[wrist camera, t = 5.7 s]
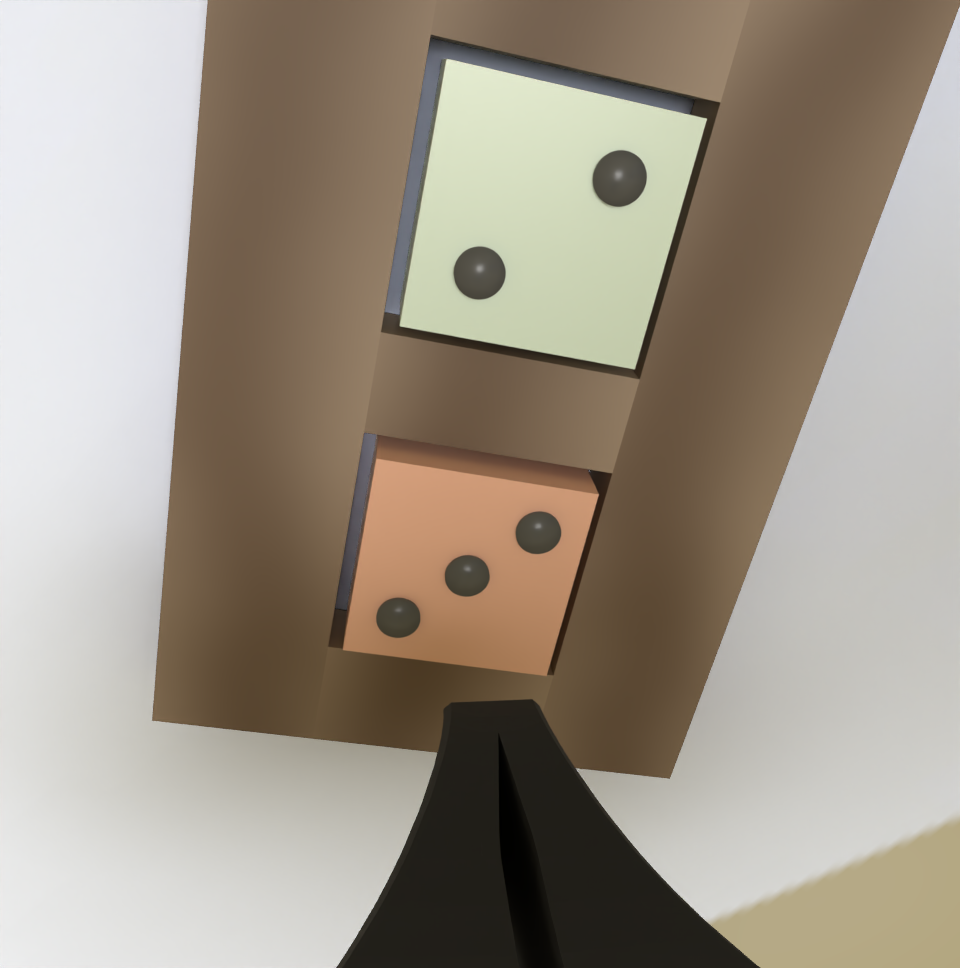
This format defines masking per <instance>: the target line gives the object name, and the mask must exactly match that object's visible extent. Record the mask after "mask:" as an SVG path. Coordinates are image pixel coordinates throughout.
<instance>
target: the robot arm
mask: <svg viewBox="0 0 960 968" xmlns="http://www.w3.org/2000/svg"><path fill="white" fill-rule="evenodd" d="M336 968H760V967H759V966H757V965H756V964H755V963H754V962H752V961H751V960H750V959H749V958H748V957H747V956H745V955H744V954H743V953H742V952H741V951H740V950H738V949H737V948H736V947H735V946H734V945H733V944H731V943H730V942H729V941H728V940H727V939H726V938H725V937H723V936H722V935H721V934H720V933H719V932H718V931H717V930H715V929H714V928H713V927H712V926H711V925H710V924H708V923H707V922H706V921H705V920H704V919H703V918H702V917H701V916H700V915H699V914H698V913H697V912H696V911H694V910H693V909H692V908H691V907H690V906H689V905H688V904H687V903H686V902H685V901H684V900H683V899H682V898H681V897H680V896H679V895H678V894H677V893H676V892H675V891H674V890H673V889H672V888H671V887H670V886H669V885H668V884H667V882H666V881H665V880H664V879H663V878H662V877H661V876H660V875H659V874H658V873H657V872H656V871H655V870H654V869H653V868H652V867H651V865H650V864H649V863H648V862H647V861H646V860H645V859H644V858H643V856H642V855H641V854H640V853H639V852H638V851H637V849H636V848H635V847H634V846H633V845H632V844H631V842H630V841H629V840H628V839H627V837H626V836H625V835H624V834H623V832H622V831H621V830H620V829H619V827H618V826H617V825H616V824H615V823H614V821H613V820H612V819H611V817H610V816H609V815H608V813H607V812H606V811H605V809H604V808H603V807H602V806H601V804H600V803H599V801H598V800H597V799H596V797H595V796H594V794H593V793H592V792H591V790H590V789H589V787H588V786H587V784H586V783H585V782H584V780H583V779H582V777H581V776H580V775H579V773H578V771H577V770H576V768H575V767H574V765H573V764H572V762H571V761H570V759H569V758H568V756H567V754H566V753H565V751H564V750H563V748H562V746H561V745H560V743H559V741H558V740H557V738H556V736H555V735H554V733H553V731H552V729H551V727H550V726H549V724H548V722H547V720H546V718H545V716H544V714H543V712H542V710H541V708H540V706H539V705H538V704H537V703H536V702H535V701H534V700H533V699H524V700H499V701H475V702H451V703H450V704H449V705H448V706H446V707H445V708H444V709H443V728H442V735H441V740H440V745H439V749H438V753H437V757H436V761H435V765H434V768H433V771H432V774H431V777H430V780H429V784H428V787H427V790H426V793H425V796H424V799H423V802H422V804H421V807H420V810H419V812H418V815H417V817H416V820H415V822H414V824H413V827H412V829H411V831H410V834H409V836H408V839H407V841H406V843H405V846H404V848H403V850H402V853H401V855H400V857H399V859H398V861H397V863H396V865H395V867H394V870H393V872H392V874H391V876H390V878H389V880H388V882H387V883H386V885H385V887H384V889H383V891H382V893H381V895H380V897H379V899H378V900H377V902H376V904H375V906H374V908H373V909H372V911H371V913H370V914H369V916H368V918H367V919H366V921H365V923H364V925H363V926H362V928H361V930H360V931H359V933H358V935H357V936H356V938H355V940H354V941H353V943H352V945H351V946H350V948H349V949H348V951H347V952H346V954H345V955H344V957H343V959H342V960H341V962H340V963H339V965H338V966H337V967H336Z"/></svg>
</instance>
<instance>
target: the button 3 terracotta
mask: <svg viewBox="0 0 960 968" xmlns="http://www.w3.org/2000/svg"><path fill="white" fill-rule="evenodd" d="M598 496H599V494H598V492H597V489H596V487H595V485H594V483H593V480H592V478H591V476H590V474H589V472H588V469H583V468H577V467H571V466H565V465H559V464H553V463H547V462H540V461H534V460H528V459H522V458H516V457H510V456H504V455H498V454H492V453H486V452H480V451H474V450H468V449H462V448H456V447H449V446H443V445H437V444H431V443H425V442H419V441H413V440H407V439H401V438H395V437H389V436H383V435H377V436H376V442H375V448H374V453H373V459H372V465H371V471H370V476H369V482H368V488H367V494H366V499H365V505H364V511H363V517H362V522H361V528H360V534H359V540H358V546H357V551H356V557H355V563H354V569H353V574H352V580H351V586H350V592H349V597H348V606H347V615H346V625H345V634H344V643H343V650H346V651H354V652H362V653H370V654H377V655H385V656H393V657H401V658H409V659H417V660H424V661H432V662H440V663H448V664H456V665H464V666H472V667H479V668H487V669H495V670H503V671H511V672H519V673H526V674H534V675H542V676H547V673H548V669H549V666H550V662H551V659H552V655H553V652H554V648H555V645H556V642H557V638H558V635H559V631H560V628H561V624H562V621H563V617H564V614H565V610H566V607H567V603H568V600H569V596H570V593H571V589H572V586H573V582H574V579H575V576H576V572H577V569H578V565H579V562H580V558H581V555H582V551H583V548H584V544H585V541H586V537H587V534H588V530H589V527H590V523H591V520H592V516H593V513H594V510H595V506H596V503H597V499H598Z"/></svg>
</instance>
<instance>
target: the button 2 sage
mask: <svg viewBox="0 0 960 968" xmlns="http://www.w3.org/2000/svg"><path fill="white" fill-rule="evenodd" d="M706 121H707V119H706V118H701V117H697V116H693V115H688V114H684V113H680V112H675V111H671V110H667V109H662V108H658V107H654V106H649V105H645V104H641V103H636V102H632V101H628V100H623V99H619V98H615V97H610V96H606V95H602V94H598V93H593V92H589V91H585V90H580V89H576V88H572V87H567V86H563V85H559V84H554V83H550V82H546V81H541V80H537V79H533V78H528V77H524V76H520V75H515V74H511V73H507V72H502V71H498V70H494V69H489V68H485V67H481V66H476V65H472V64H468V63H463V62H459V61H455V60H450V59H442V62H441V68H440V74H439V79H438V85H437V91H436V97H435V102H434V108H433V114H432V120H431V125H430V131H429V137H428V143H427V148H426V154H425V160H424V166H423V171H422V177H421V183H420V189H419V195H418V200H417V206H416V212H415V218H414V223H413V229H412V235H411V241H410V246H409V252H408V258H407V264H406V269H405V275H404V281H403V287H402V292H401V298H400V326H401V327H407V328H412V329H417V330H423V331H428V332H434V333H439V334H445V335H450V336H456V337H461V338H466V339H472V340H477V341H483V342H488V343H494V344H499V345H505V346H510V347H515V348H521V349H526V350H532V351H537V352H543V353H548V354H553V355H559V356H564V357H570V358H575V359H581V360H586V361H592V362H597V363H602V364H608V365H613V366H619V367H624V368H630V369H635V367H636V364H637V360H638V357H639V353H640V350H641V346H642V343H643V339H644V336H645V332H646V329H647V326H648V322H649V319H650V315H651V312H652V308H653V305H654V301H655V298H656V294H657V291H658V287H659V284H660V280H661V277H662V273H663V270H664V266H665V263H666V260H667V256H668V253H669V249H670V246H671V242H672V239H673V235H674V232H675V228H676V225H677V221H678V218H679V214H680V211H681V207H682V204H683V200H684V197H685V194H686V190H687V187H688V183H689V180H690V176H691V173H692V169H693V166H694V162H695V159H696V155H697V152H698V148H699V145H700V141H701V138H702V135H703V131H704V128H705V124H706Z"/></svg>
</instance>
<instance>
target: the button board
mask: <svg viewBox="0 0 960 968" xmlns="http://www.w3.org/2000/svg"><path fill="white" fill-rule="evenodd" d="M959 6H960V0H208V4H207V17H206V30H205V43H204V56H203V69H202V82H201V95H200V108H199V121H198V134H197V147H196V160H195V173H194V186H193V199H192V212H191V225H190V238H189V251H188V263H187V276H186V289H185V302H184V315H183V328H182V341H181V354H180V367H179V380H178V393H177V406H176V419H175V432H174V445H173V458H172V471H171V484H170V497H169V510H168V523H167V536H166V548H165V561H164V574H163V587H162V600H161V613H160V626H159V639H158V652H157V665H156V678H155V691H154V704H153V717H152V721H161V722H170V723H179V724H188V725H197V726H205V727H214V728H223V729H232V730H241V731H250V732H259V733H268V734H277V735H286V736H295V737H304V738H313V739H321V740H330V741H339V742H348V743H357V744H366V745H375V746H384V747H393V748H402V749H411V750H420V751H428V752H437V753H438V749H439V745H440V740H441V735H442V728H443V709H444V708H445V707H446V706H448V705H449V704H450V703H451V702H475V701H499V700H524V699H533V700H534V701H535V702H536V703H537V704H538V705H539V706H540V708H541V710H542V712H543V714H544V716H545V718H546V720H547V722H548V724H549V726H550V727H551V729H552V731H553V733H554V735H555V736H556V738H557V740H558V741H559V743H560V745H561V746H562V748H563V750H564V751H565V753H566V754H567V756H568V758H569V759H570V761H571V762H572V764H573V765H574V767H575V768H580V769H589V770H598V771H607V772H616V773H625V774H634V775H643V776H651V777H660V778H669V779H670V777H671V774H672V771H673V769H674V766H675V763H676V761H677V758H678V755H679V753H680V750H681V747H682V745H683V742H684V739H685V737H686V734H687V731H688V729H689V726H690V723H691V721H692V718H693V715H694V713H695V710H696V707H697V705H698V702H699V699H700V697H701V694H702V691H703V689H704V686H705V683H706V681H707V678H708V675H709V673H710V670H711V667H712V665H713V662H714V659H715V657H716V654H717V651H718V649H719V646H720V643H721V641H722V638H723V635H724V633H725V630H726V627H727V625H728V622H729V619H730V617H731V614H732V611H733V609H734V606H735V603H736V601H737V598H738V595H739V593H740V590H741V587H742V585H743V582H744V579H745V577H746V574H747V571H748V569H749V566H750V563H751V561H752V558H753V555H754V553H755V550H756V547H757V545H758V542H759V539H760V537H761V534H762V531H763V529H764V526H765V523H766V521H767V518H768V515H769V513H770V510H771V507H772V505H773V502H774V499H775V497H776V494H777V491H778V489H779V486H780V483H781V481H782V478H783V475H784V473H785V470H786V467H787V465H788V462H789V459H790V457H791V454H792V451H793V449H794V446H795V443H796V441H797V438H798V435H799V433H800V430H801V427H802V425H803V422H804V419H805V417H806V414H807V411H808V409H809V406H810V403H811V401H812V398H813V395H814V393H815V390H816V387H817V385H818V382H819V379H820V377H821V374H822V371H823V369H824V366H825V363H826V361H827V358H828V355H829V353H830V350H831V347H832V345H833V342H834V339H835V337H836V334H837V331H838V329H839V326H840V323H841V321H842V318H843V315H844V313H845V310H846V307H847V305H848V302H849V299H850V297H851V294H852V291H853V289H854V286H855V283H856V281H857V278H858V275H859V273H860V270H861V267H862V265H863V262H864V259H865V257H866V254H867V251H868V249H869V246H870V243H871V241H872V238H873V235H874V233H875V230H876V227H877V225H878V222H879V219H880V217H881V214H882V211H883V209H884V206H885V203H886V201H887V198H888V195H889V193H890V190H891V187H892V185H893V182H894V179H895V177H896V174H897V171H898V169H899V166H900V163H901V161H902V158H903V155H904V153H905V150H906V147H907V145H908V142H909V139H910V137H911V134H912V131H913V129H914V126H915V123H916V121H917V118H918V115H919V113H920V110H921V107H922V105H923V102H924V99H925V97H926V94H927V92H928V89H929V86H930V84H931V81H932V78H933V76H934V73H935V70H936V68H937V65H938V62H939V60H940V57H941V54H942V52H943V49H944V46H945V44H946V41H947V38H948V36H949V33H950V30H951V28H952V25H953V22H954V20H955V17H956V14H957V12H958V9H959ZM430 38H435V39H439V40H443V41H447V42H452V43H456V44H460V45H465V46H469V47H473V48H477V49H482V50H486V51H490V52H494V53H499V54H503V55H507V56H512V57H516V58H520V59H524V60H529V61H533V62H537V63H541V64H546V65H550V66H554V67H559V68H563V69H567V70H571V71H576V72H580V73H584V74H588V75H593V76H597V77H601V78H606V79H610V80H614V81H618V82H623V83H627V84H631V85H635V86H640V87H644V88H648V89H653V90H657V91H661V92H665V93H670V94H674V95H678V96H682V97H687V98H691V99H695V101H694V105H693V108H692V112H691V115H693V116H697V117H701V118H706V119H707V121H706V124H705V128H704V131H703V135H702V138H701V141H700V145H699V148H698V152H697V155H696V159H695V162H694V166H693V169H692V173H691V176H690V180H689V183H688V187H687V190H686V194H685V197H684V200H683V204H682V207H681V211H680V214H679V218H678V221H677V225H676V228H675V232H674V235H673V239H672V242H671V246H670V249H669V253H668V256H667V260H666V263H665V266H664V270H663V273H662V277H661V280H660V284H659V287H658V291H657V294H656V298H655V301H654V305H653V308H652V312H651V315H650V319H649V322H648V326H647V329H646V332H645V336H644V339H643V343H642V346H641V350H640V353H639V357H638V360H637V364H636V367H635V369H630V368H624V367H619V366H613V365H608V364H602V363H597V362H592V361H586V360H581V359H575V358H570V357H564V356H559V355H553V354H548V353H543V352H537V351H532V350H526V349H521V348H515V347H510V346H505V345H499V344H494V343H488V342H483V341H477V340H472V339H466V338H461V337H456V336H450V335H445V334H439V333H434V332H428V331H423V330H417V329H412V328H407V327H401V326H400V315H396V314H390V313H385V312H384V310H385V304H386V298H387V292H388V287H389V281H390V275H391V269H392V263H393V257H394V251H395V245H396V239H397V233H398V227H399V221H400V215H401V209H402V203H403V197H404V191H405V185H406V179H407V173H408V167H409V161H410V155H411V149H412V143H413V137H414V131H415V125H416V119H417V113H418V107H419V101H420V96H421V90H422V84H423V78H424V72H425V66H426V60H427V54H428V48H429V42H430ZM364 433H371V434H377V435H383V436H389V437H395V438H401V439H407V440H413V441H419V442H425V443H431V444H437V445H443V446H449V447H456V448H462V449H468V450H474V451H480V452H486V453H492V454H498V455H504V456H510V457H516V458H522V459H528V460H534V461H540V462H547V463H553V464H559V465H565V466H571V467H577V468H583V469H589V470H591V472H590V476H591V478H592V480H593V483H594V485H595V487H596V489H597V492H598V494H599V496H598V499H597V503H596V506H595V510H594V513H593V516H592V520H591V523H590V527H589V530H588V534H587V537H586V541H585V544H584V548H583V551H582V555H581V558H580V562H579V565H578V569H577V572H576V576H575V579H574V582H573V586H572V589H571V593H570V596H569V600H568V603H567V607H566V610H565V614H564V617H563V621H562V624H561V628H560V631H559V635H558V638H557V642H556V645H555V648H554V652H553V655H552V659H551V662H550V666H549V669H548V673H547V676H542V675H534V674H526V673H519V672H511V671H503V670H495V669H487V668H479V667H472V666H464V665H456V664H448V663H440V662H432V661H424V660H417V659H409V658H401V657H393V656H385V655H377V654H370V653H362V652H354V651H346V650H343V643H344V634H345V625H346V615H347V611H345V610H338V609H335V603H336V597H337V591H338V585H339V579H340V573H341V567H342V561H343V555H344V549H345V543H346V537H347V531H348V525H349V519H350V513H351V507H352V501H353V495H354V489H355V483H356V477H357V472H358V466H359V460H360V454H361V448H362V442H363V436H364Z"/></svg>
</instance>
